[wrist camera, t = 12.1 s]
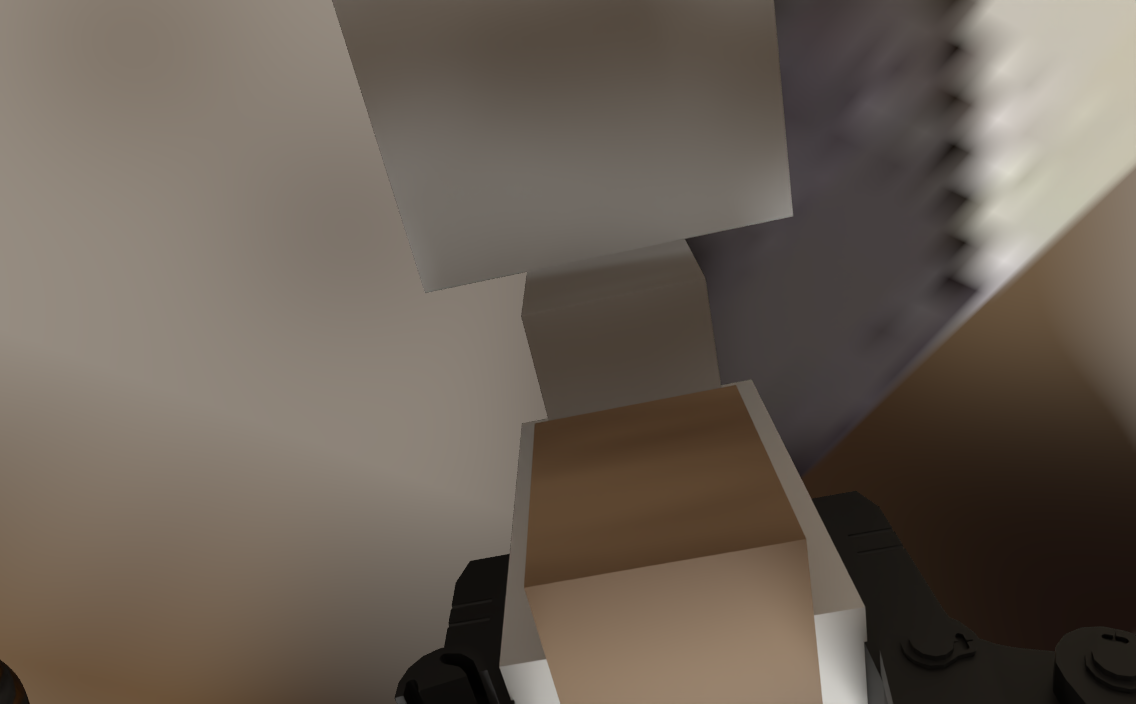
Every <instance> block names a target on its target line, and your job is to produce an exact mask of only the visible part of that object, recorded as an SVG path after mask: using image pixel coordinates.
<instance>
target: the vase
mask: <svg viewBox="0 0 1136 704" xmlns="http://www.w3.org/2000/svg"><path fill="white" fill-rule="evenodd" d="M0 704H30V703H29V700H28V697H27V694H26V692H25V689H24V687H23V685H22V683H21V681H20V679H19V678H18V676H17V675H16V674H15V673H14V672H13V671H12V669H10V668H9V667H8V666H7V665H6V664H5V663H4V662H2V661H1V660H0Z"/></svg>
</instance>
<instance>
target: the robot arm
mask: <svg viewBox="0 0 1136 704" xmlns="http://www.w3.org/2000/svg"><path fill="white" fill-rule="evenodd" d="M733 385H736V386H737V388H738V390H739V393H740V395H741V397H742V399H743V401H744V404H745V406H746V408H747V410H748V412H749V414H750V417H751V419H752V421H753V423H754V425H755V428H756V430H757V432H758V434H759V436H760V439H761V441H762V443H763V445H764V447H765V450H766V452H767V454H768V456H769V458H770V460H771V463H772V465H773V467H774V469H775V471H776V474H777V476H778V478H779V480H780V482H781V485H782V487H783V489H784V491H785V493H786V496H787V498H788V500H789V502H790V504H791V506H792V509H793V511H794V513H795V515H796V517H797V520H798V522H799V524H800V526H801V528H802V531H803V533H804V535H805V537H806V540H807V550H808V560H809V570H810V580H811V590H812V600H813V610H814V620H815V630H816V640H817V650H818V660H819V670H820V680H821V691H822V701H823V704H1136V635H1134V634H1132V633H1129V632H1127V631H1123V630H1117V629H1112V628H1107V627H1086V628H1079V629H1077V630H1074V631H1072V632H1070V633H1067V634H1065V635H1064V636H1063V637H1062V639H1061V640H1060V641H1059V643H1058V644H1057V645H1056V649H1055V652H1054V651H1044V650H1034V649H1024V648H1015V647H1009V646H1003V645H998V644H994V643H991V642H988V641H985V640H982V639H979V638H978V637H977V635H976V634H975V633H974V632H973V631H971V630H970V629H969V628H967V627H966V626H965V625H963V624H962V623H961V622H959V621H957V620H955V619H952V618H950V617H949V616H948V615H947V614H946V612H945V611H944V610H943V608H942V607H941V605H940V603H939V602H938V600H937V599H936V597H935V595H934V594H933V592H932V591H931V589H930V587H929V586H928V584H927V583H926V581H925V580H924V578H923V576H922V575H921V573H920V572H919V570H918V568H917V567H916V565H915V563H914V562H913V560H912V559H911V557H910V555H909V554H908V552H907V551H906V549H904V548H903V545H902V543H901V541H900V540H899V538H898V537H897V535H896V533H895V532H893V530H892V527H891V525H890V524H889V522H888V520H887V519H886V517H885V516H884V514H883V513H882V511H881V509H880V508H879V506H877V505H875V504H874V503H873V502H871V501H870V500H868V499H867V498H865V497H864V496H862V495H861V494H860V493H858V492H857V491H853V492H848V493H842V494H836V495H830V496H825V497H820V498H813V499H811V498H810V496H809V494H808V492H807V490H806V488H805V486H804V484H803V482H802V480H801V478H800V476H799V474H798V472H797V470H796V468H795V466H794V464H793V462H792V460H791V458H790V456H789V454H788V452H787V450H786V448H785V446H784V444H783V442H782V440H781V438H780V436H779V434H778V432H777V430H776V428H775V426H774V424H773V422H772V420H771V418H770V416H769V414H768V412H767V410H766V408H765V406H764V404H763V402H762V400H761V398H760V396H759V394H758V392H757V390H756V388H755V386H754V384H753V382H752V380H746V381H741V382H736V383H731V384H726V385H721V388H722V387H728V386H733ZM545 421H549V420H548V419H543V420H538V421H532V422H528V423H522V429H521V440H520V450H519V461H518V472H517V473H518V474H517V482H516V494H515V504H514V514H513V525H512V537H511V548H510V554H507V555H501V556H496V557H490V558H485V559H479V560H474V561H470V562H469V564H468V565H467V567H466V568H465V570H464V571H463V573H462V574H461V576H460V577H459V579H458V580H457V582H456V585H455V590H454V596H453V601H452V609H451V613H450V618H449V628H448V629H447V634H446V640H445V646H444V648H440V649H438V650H435V651H433V652H432V653H429V654H427V655H425V656H423V657H422V658H420V659H419V660H418V661H417V662H416V663H414V664H413V665H412V666H411V667H410V668H408V670H407V671H406V673H405V674H404V676H403V677H402V679H401V680H400V682H399V683H398V687H397V691H396V695H395V700H396V702H397V704H560V701H559V698H558V695H557V692H556V688H555V685H554V682H553V679H552V676H551V673H550V669H549V666H548V663H547V660H546V657H545V653H544V650H543V647H542V644H541V641H540V637H539V634H538V631H537V628H536V625H535V622H534V618H533V615H532V612H531V609H530V606H529V602H528V599H527V596H526V593H525V590H524V579H525V564H526V548H527V533H528V518H529V503H530V487H531V472H532V457H533V442H534V426H535V423H540V422H545Z"/></svg>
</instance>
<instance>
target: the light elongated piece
mask: <svg viewBox="0 0 1136 704" xmlns="http://www.w3.org/2000/svg"><path fill="white" fill-rule="evenodd" d="M332 1H333V5H334V7H335V11H336V14H337V17H338V20H339V23H340V27H341V30H342V33H343V36H344V39H345V42H346V46H347V49H348V52H349V55H350V58H351V61H352V64H353V67H354V70H355V74H356V76H357V80H358V83H359V86H360V89H361V93H362V96H363V99H364V102H365V105H366V108H367V111H368V114H369V118H370V121H371V124H372V127H373V131H374V134H375V137H376V140H377V143H378V146H379V149H380V152H381V156H382V159H383V162H384V165H385V168H386V171H387V175H388V178H389V181H390V184H391V187H392V190H393V193H394V197H395V200H396V203H397V206H398V209H399V212H400V216H401V219H402V222H403V224H404V228H405V231H406V234H407V237H408V241H409V244H410V247H411V250H412V253H413V256H414V259H415V263H416V266H417V269H418V272H419V275H420V278H421V282H422V285H423V288H424V291H425V293H428V292H432V291H437V290H442V289H446V288H452V287H456V286H461V285H466V284H471V283H476V282H480V281H485V280H490V279H494V278H499V277H504V276H509V275H514V274H519V273H523V272H527V276H526V284H525V293H524V299H523V308H522V315H521V317H522V321H523V325H524V328H525V332H526V336H527V340H528V344H529V347H530V351H531V355H532V358H533V362H534V366H535V370H536V374H537V377H538V382H539V385H540V389H541V393H542V397H543V400H544V404H545V408H546V412H547V416H548V420H549V421H545V422H540V423H535V426H534V442H533V457H532V472H531V487H530V503H529V518H528V533H527V548H526V564H525V579H524V590H525V593H526V596H527V599H528V602H529V606H530V609H531V612H532V615H533V618H534V622H535V625H536V628H537V631H538V634H539V637H540V641H541V644H542V647H543V650H544V653H545V657H546V660H547V663H548V666H549V669H550V673H551V676H552V679H553V682H554V685H555V688H556V692H557V695H558V698H559V701H560V704H823V701H822V691H821V680H820V670H819V660H818V650H817V640H816V630H815V620H814V610H813V600H812V590H811V580H810V570H809V560H808V550H807V540H806V537H805V535H804V533H803V531H802V528H801V526H800V524H799V522H798V520H797V517H796V515H795V513H794V511H793V509H792V506H791V504H790V502H789V500H788V498H787V496H786V493H785V491H784V489H783V487H782V485H781V482H780V480H779V478H778V476H777V474H776V471H775V469H774V467H773V465H772V463H771V460H770V458H769V456H768V454H767V452H766V450H765V447H764V445H763V443H762V441H761V439H760V436H759V434H758V432H757V430H756V428H755V425H754V423H753V421H752V419H751V417H750V414H749V412H748V410H747V408H746V406H745V404H744V401H743V399H742V397H741V395H740V393H739V390H738V388H737V386H736V385H733V386H728V387H722V388H721V382H720V375H719V368H718V361H717V355H716V348H715V341H714V334H713V327H712V320H711V313H710V306H709V299H708V293H707V286H706V279H705V277H704V275H703V273H702V271H701V269H700V267H699V265H698V263H697V261H696V259H695V258H694V256H693V254H692V252H691V250H690V248H689V246H688V244H687V242H686V240H685V239H686V238H691V237H696V236H700V235H705V234H710V233H715V232H720V231H724V230H729V229H734V228H739V227H743V226H748V225H753V224H758V223H763V222H767V221H772V220H777V219H782V218H786V217H791V216H793V210H792V199H791V188H790V177H789V165H788V154H787V143H786V132H785V120H784V109H783V98H782V87H781V75H780V64H779V53H778V42H777V30H776V19H775V8H774V0H332Z"/></svg>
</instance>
